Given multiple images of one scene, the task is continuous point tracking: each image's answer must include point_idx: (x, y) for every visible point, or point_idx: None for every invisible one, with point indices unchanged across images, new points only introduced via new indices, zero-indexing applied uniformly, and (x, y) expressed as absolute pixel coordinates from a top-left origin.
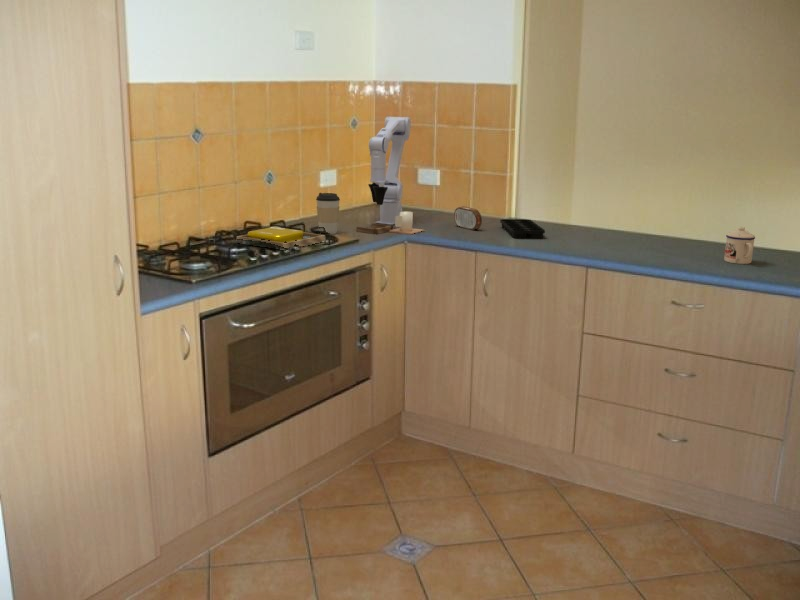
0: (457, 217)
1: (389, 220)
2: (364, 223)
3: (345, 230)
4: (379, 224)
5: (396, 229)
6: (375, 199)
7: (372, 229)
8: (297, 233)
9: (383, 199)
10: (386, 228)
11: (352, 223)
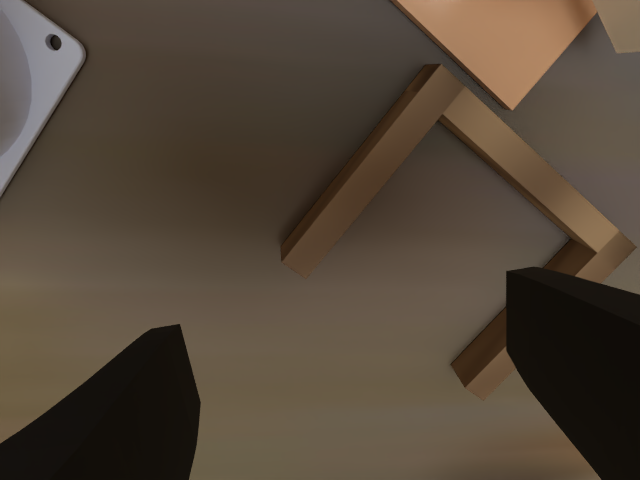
0: None
1: (13, 69)
2: (16, 319)
3: (411, 447)
4: (352, 206)
5: (472, 26)
6: (182, 404)
7: (601, 276)
8: None
9: (619, 292)
10: (519, 141)
11: None
